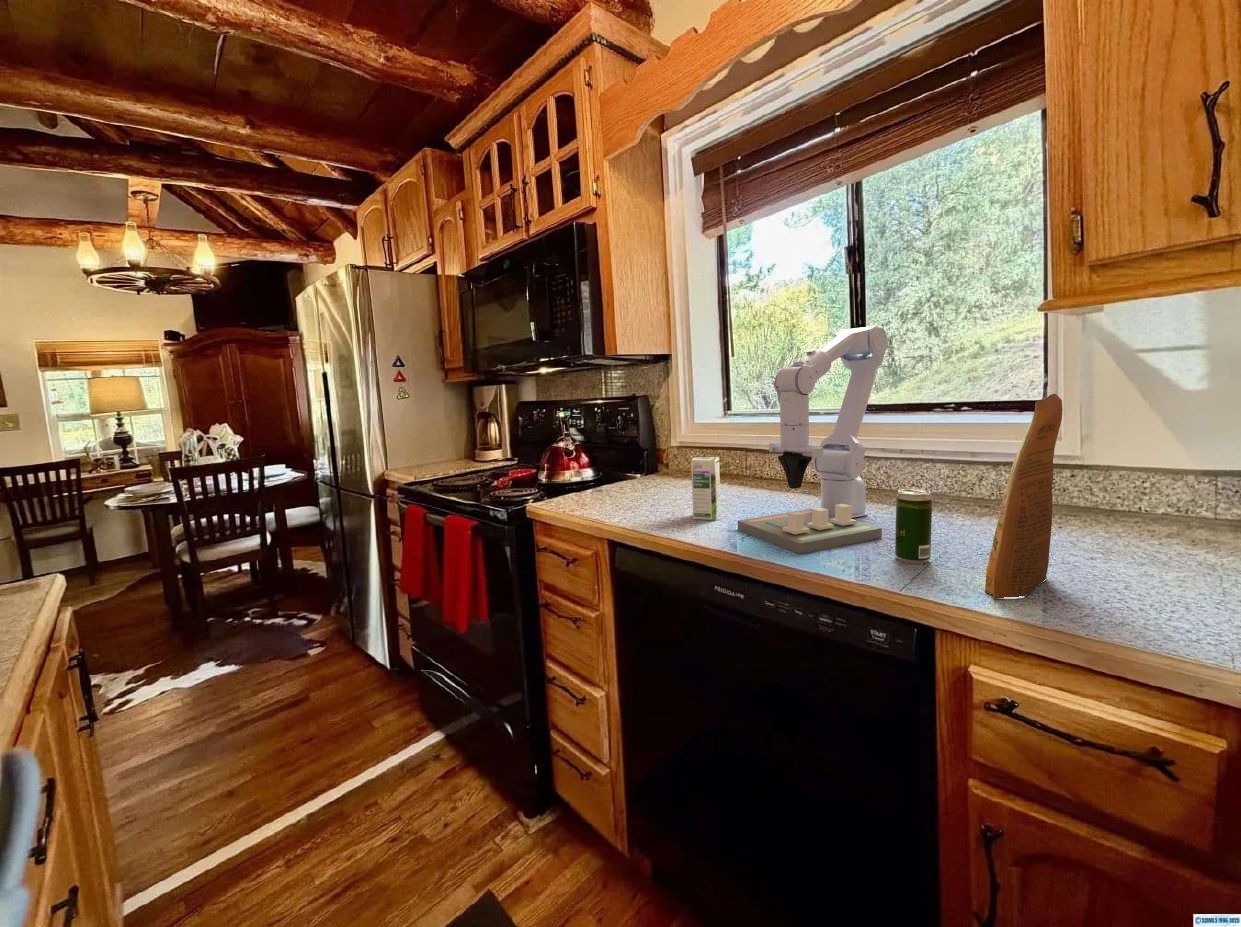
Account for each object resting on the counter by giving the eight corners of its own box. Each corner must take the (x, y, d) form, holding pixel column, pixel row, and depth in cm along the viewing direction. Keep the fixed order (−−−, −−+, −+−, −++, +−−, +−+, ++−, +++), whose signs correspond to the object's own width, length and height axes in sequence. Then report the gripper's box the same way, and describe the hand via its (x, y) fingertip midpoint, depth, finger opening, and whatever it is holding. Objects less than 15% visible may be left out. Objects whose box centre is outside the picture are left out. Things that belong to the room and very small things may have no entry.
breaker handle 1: (796, 527, 108) (796, 510, 107) (809, 531, 105) (809, 513, 104) (782, 530, 107) (782, 512, 106) (794, 534, 103) (794, 516, 103)
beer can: (937, 561, 92) (939, 492, 90) (916, 567, 89) (918, 496, 88) (908, 553, 96) (910, 487, 95) (888, 558, 94) (889, 491, 92)
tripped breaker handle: (820, 523, 110) (820, 506, 109) (833, 527, 107) (833, 509, 106) (806, 526, 109) (806, 508, 108) (819, 530, 105) (819, 512, 105)
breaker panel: (810, 517, 125) (810, 508, 124) (881, 537, 106) (881, 527, 106) (737, 529, 117) (737, 520, 117) (800, 553, 99) (799, 543, 99)
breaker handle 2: (843, 519, 112) (843, 502, 112) (856, 523, 109) (856, 505, 108) (829, 521, 111) (829, 504, 110) (842, 525, 108) (843, 508, 107)
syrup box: (692, 519, 128) (690, 459, 126) (698, 514, 133) (696, 455, 131) (716, 520, 126) (714, 459, 124) (721, 514, 131) (719, 455, 129)
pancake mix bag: (1069, 576, 82) (1082, 392, 78) (1027, 612, 71) (1040, 398, 67) (1017, 565, 88) (1027, 392, 84) (970, 598, 76) (979, 399, 72)
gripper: (757, 424, 118) (758, 485, 120) (803, 427, 105) (804, 495, 107) (783, 421, 121) (783, 481, 123) (831, 424, 108) (831, 491, 110)
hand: (795, 487), depth 115 cm, fingers closed
